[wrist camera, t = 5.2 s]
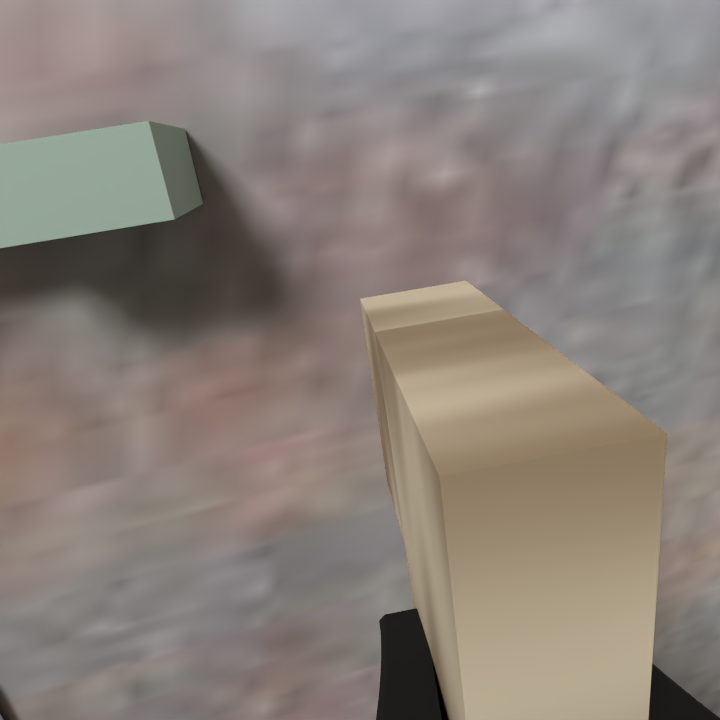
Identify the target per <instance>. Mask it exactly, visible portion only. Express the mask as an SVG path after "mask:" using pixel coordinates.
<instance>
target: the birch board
mask: <svg viewBox="0 0 720 720" xmlns="http://www.w3.org/2000/svg"><path fill="white" fill-rule="evenodd" d="M360 302H361V308H362V315H363V322H364V328H365V335H366V342H367V349H368V355H369V362H370V369H371V375H372V382H373V389H374V395H375V402H376V409H377V415H378V422H379V429H380V436H381V442H382V449H383V456H384V462H385V469H386V476H387V482H388V486H389V489H390V493H391V496H392V500H393V503H394V507H395V510H396V514H397V517H398V521H399V525H400V528H401V532H402V535H403V539H404V542H405V547H406V554H407V561H408V568H409V575H410V582H411V589H412V596H413V603H414V609H416V608H417V610H418V613H419V616H420V619H421V622H422V625H423V628H424V632H425V635H426V638H427V641H428V645H429V648H430V651H431V657H432V663H433V669H434V675H435V681H436V687H437V693H438V699H439V705H440V711H441V717H442V720H648V719H649V703H650V688H651V673H652V658H653V642H654V627H655V612H656V596H657V581H658V566H659V551H660V535H661V520H662V505H663V489H664V474H665V459H666V444H667V433H666V432H664V431H663V430H662V429H660V428H659V427H658V426H656V425H655V424H654V423H652V422H651V421H650V420H648V419H647V418H646V417H645V416H643V415H642V414H641V413H639V412H638V411H637V410H635V409H634V408H633V407H631V406H630V405H629V404H627V403H626V402H625V401H623V400H622V399H621V398H620V397H618V396H617V395H616V394H614V393H613V392H612V391H610V390H609V389H608V388H606V387H605V386H604V385H602V384H601V383H600V382H598V381H597V380H596V379H595V378H593V377H592V376H591V375H589V374H588V373H587V372H585V371H584V370H583V369H581V368H580V367H579V366H577V365H576V364H575V363H573V362H572V361H571V360H570V359H568V358H567V357H566V356H564V355H563V354H562V353H560V352H559V351H558V350H556V349H555V348H554V347H552V346H551V345H550V344H548V343H547V342H546V341H545V340H543V339H542V338H541V337H539V336H538V335H537V334H535V333H534V332H533V331H531V330H530V329H529V328H527V327H526V326H525V325H523V324H522V323H521V322H519V321H518V320H517V319H516V318H514V317H513V316H512V315H510V314H509V313H508V312H506V311H505V310H504V309H502V308H501V307H500V306H498V305H497V304H496V303H494V302H493V301H492V300H491V299H489V298H488V297H487V296H485V295H484V294H483V293H481V292H480V291H479V290H477V289H476V288H475V287H473V286H472V285H471V284H469V283H468V282H467V281H462V282H456V283H450V284H444V285H438V286H433V287H427V288H421V289H415V290H409V291H403V292H398V293H392V294H386V295H380V296H374V297H368V298H362V299H360Z"/></svg>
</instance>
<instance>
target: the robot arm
mask: <svg viewBox="0 0 720 720" xmlns="http://www.w3.org/2000/svg"><path fill="white" fill-rule="evenodd" d="M379 622H380V630H381V676H380V691H379V700H378V708H377V717H376V720H442V717H441V711H440V705H439V699H438V693H437V687H436V681H435V675H434V669H433V663H432V657H431V651H430V648H429V645H428V641H427V638H426V635H425V632H424V628H423V625H422V622H421V619H420V616H419V613H418V610H417V608H416V609H411V610H406V611H401V612H396V613H391V614H386V615H384V616H383V617H382V619H381V620H380V621H379ZM0 720H3V718H2V716H1V715H0ZM648 720H720V718H719V717H718V716H716V715H715V714H714V713H712V712H711V711H710V710H709V709H707V708H706V707H705V706H703V705H702V704H701V703H700V702H698V701H697V700H696V699H695V698H693V697H692V696H691V695H690V694H688V693H687V692H686V691H685V690H683V689H682V688H681V687H680V686H679V685H677V684H676V683H675V682H674V681H673V680H671V679H670V678H669V677H668V676H667V675H665V674H664V673H663V672H662V671H661V670H660V669H658V668H657V667H656V666H655V665H654V664H652V673H651V688H650V703H649V719H648Z"/></svg>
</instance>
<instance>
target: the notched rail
mask: <svg viewBox="0 0 720 720" xmlns="http://www.w3.org/2000/svg"><path fill="white" fill-rule="evenodd" d="M202 204H203V201H202V197H201V193H200V189H199V185H198V181H197V177H196V173H195V169H194V165H193V161H192V156H191V152H190V148H189V144H188V140H187V136H186V132H185V129H183V128H178V127H174V126H169V125H165V124H160V123H155V122H151V121H145V122H139V123H132V124H126V125H120V126H113V127H107V128H100V129H94V130H88V131H81V132H75V133H69V134H62V135H56V136H49V137H43V138H37V139H30V140H24V141H17V142H11V143H5V144H0V248H5V247H11V246H17V245H23V244H29V243H35V242H41V241H47V240H53V239H59V238H65V237H71V236H77V235H83V234H89V233H96V232H102V231H108V230H114V229H120V228H126V227H132V226H138V225H144V224H150V223H156V222H162V221H168V220H174V219H176V218H178V217H180V216H182V215H184V214H185V213H187V212H189V211H191V210H193V209H195V208H196V207H198V206H200V205H202Z"/></svg>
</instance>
